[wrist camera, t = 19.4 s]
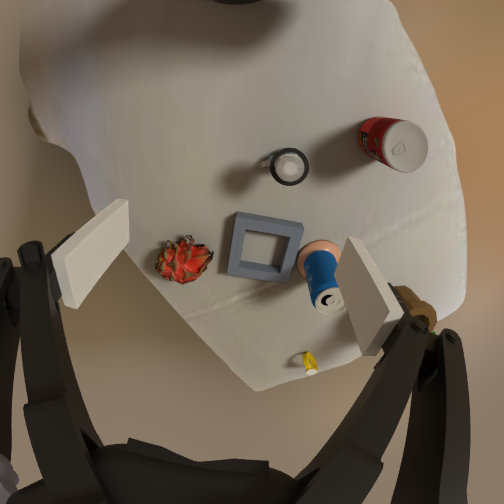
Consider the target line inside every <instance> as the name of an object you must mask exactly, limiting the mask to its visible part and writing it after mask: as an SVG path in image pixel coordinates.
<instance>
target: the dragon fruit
mask: <svg viewBox="0 0 504 504" xmlns="http://www.w3.org/2000/svg"><path fill="white" fill-rule="evenodd" d="M186 237H187V238H188V239H189V240H190V243H189V244H186V240H183V239H181V240H180V241H179V242H178V244H177V243H176V242H175V243H173V242H172V241H170V240H168V241H166V243H165V244H167V242H169V243H170V247H169V249H166V248H162V249H161V250H160V252H161V253H160V254H158V259H156V263H155V266H154V268H155V269H156V271H157V272H158V273H159V274H161V275H162V277H163V278H164V279H166V280H167V279H168V278H169V281H173V280H174V281H176V282H178V283H180V284H182V285H184V284H186V283H189V282H192V281H195V280H196V279H197V278H198V277H200V276H201V274H202V273H203V272H204V271H205V270H206V269H207V267H206V266H207V265H208V263H209V262H210V261H211V260H212V258H213V254H214V252H213V251H212V254H211V252H210V251H209V249H210V247H209V249H208V247H207V246H205V245H204V244H196V245H199V247H195V246H193V245H192V244H193V242H194V239H193V238H192V236H191V235H186ZM209 255H211V256H209Z"/></svg>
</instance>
